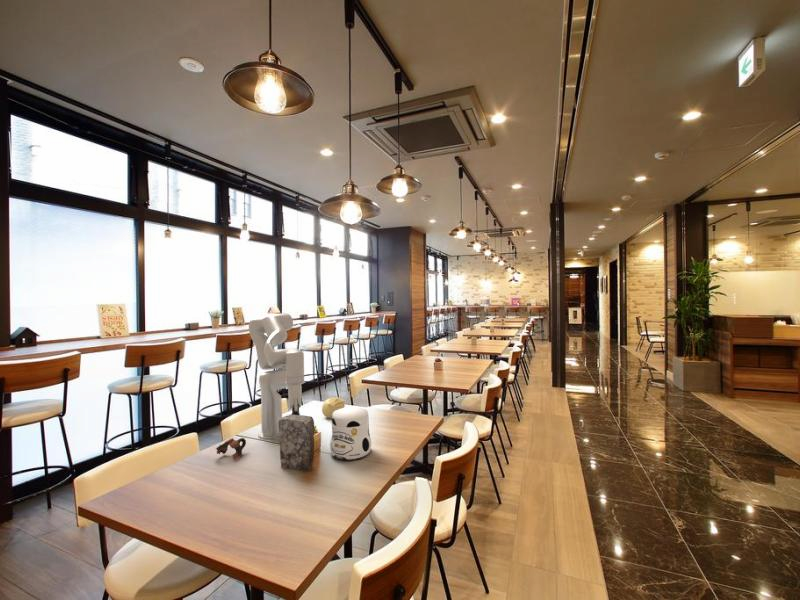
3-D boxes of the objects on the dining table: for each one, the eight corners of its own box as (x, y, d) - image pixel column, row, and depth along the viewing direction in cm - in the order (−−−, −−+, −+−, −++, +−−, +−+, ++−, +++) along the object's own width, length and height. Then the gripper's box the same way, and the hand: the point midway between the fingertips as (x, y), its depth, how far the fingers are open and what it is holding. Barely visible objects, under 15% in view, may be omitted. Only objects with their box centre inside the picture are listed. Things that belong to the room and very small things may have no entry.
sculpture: (334, 421, 189) (334, 401, 189) (317, 417, 195) (317, 398, 195) (347, 415, 199) (347, 396, 199) (331, 412, 205) (331, 393, 205)
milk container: (330, 466, 138) (329, 421, 138) (329, 448, 155) (329, 407, 155) (373, 461, 142) (373, 417, 142) (368, 444, 158) (368, 405, 158)
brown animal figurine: (229, 464, 141) (219, 446, 141) (219, 469, 146) (209, 451, 146) (254, 446, 151) (245, 430, 151) (243, 451, 156) (234, 435, 156)
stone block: (277, 470, 135) (276, 418, 135) (287, 463, 141) (286, 413, 142) (308, 474, 131) (307, 420, 132) (317, 466, 138) (316, 415, 139)
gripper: (285, 377, 155) (286, 418, 155) (286, 384, 141) (286, 429, 141) (303, 375, 158) (303, 416, 157) (305, 382, 143) (306, 427, 143)
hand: (295, 422), depth 149 cm, fingers closed
